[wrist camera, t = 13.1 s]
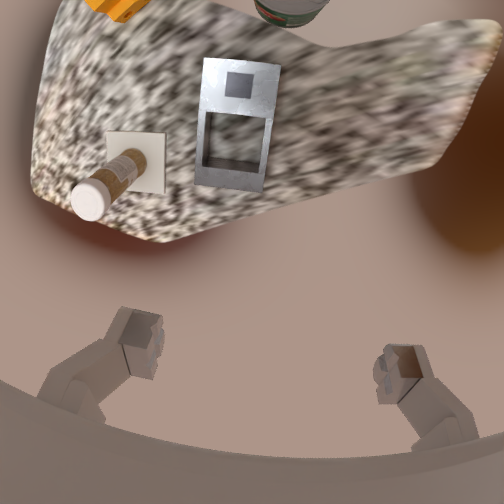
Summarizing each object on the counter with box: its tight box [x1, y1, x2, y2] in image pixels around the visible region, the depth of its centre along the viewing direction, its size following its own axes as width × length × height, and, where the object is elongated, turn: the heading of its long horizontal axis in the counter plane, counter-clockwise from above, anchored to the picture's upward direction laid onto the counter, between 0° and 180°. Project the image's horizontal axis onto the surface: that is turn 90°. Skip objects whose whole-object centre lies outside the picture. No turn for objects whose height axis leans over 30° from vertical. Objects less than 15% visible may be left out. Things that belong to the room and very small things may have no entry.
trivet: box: [106, 131, 166, 194], centre depth 41 cm, size 9×9×1 cm
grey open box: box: [194, 58, 281, 193], centre depth 36 cm, size 16×9×4 cm, turn 173°
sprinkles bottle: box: [71, 148, 146, 221], centre depth 35 cm, size 5×5×13 cm
